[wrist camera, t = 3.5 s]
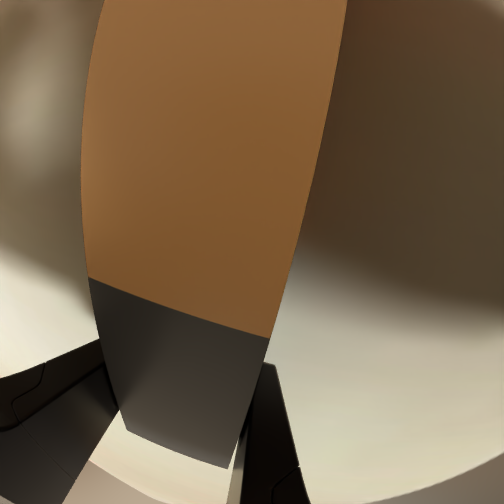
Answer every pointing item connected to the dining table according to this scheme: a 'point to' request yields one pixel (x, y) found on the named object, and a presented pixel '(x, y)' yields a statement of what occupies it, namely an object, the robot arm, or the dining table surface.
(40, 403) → the robot arm
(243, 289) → the plug
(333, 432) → the dining table surface
